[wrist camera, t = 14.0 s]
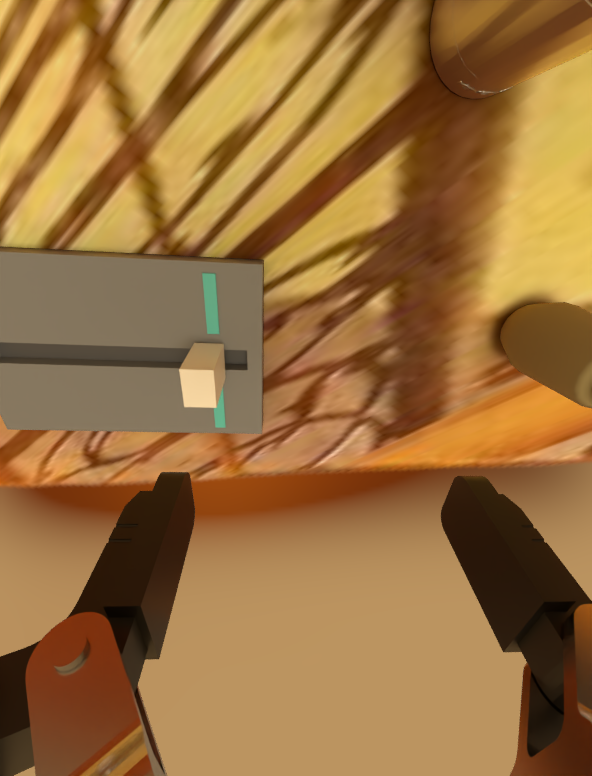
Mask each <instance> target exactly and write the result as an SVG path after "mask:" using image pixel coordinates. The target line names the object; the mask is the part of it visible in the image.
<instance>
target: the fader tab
mask: <svg viewBox="0 0 592 776" xmlns="http://www.w3.org/2000/svg"><path fill="white" fill-rule="evenodd" d="M179 372H180V379H181V387H182V394H183V401H184V407H203V408H217V405H218V401H219V398H220V395H221V391H222V388H223V385H224V381H225V378H226V376H225V359H224V344H215V343H194V344H193V346H192V348H191V349H190V351H189V353H188V355H187V356H186V358H185V360H184V362H183V363H182V365H181V367H180V369H179Z"/></svg>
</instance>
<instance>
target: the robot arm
mask: <svg viewBox="0 0 592 776" xmlns="http://www.w3.org/2000/svg"><path fill="white" fill-rule="evenodd" d="M430 46H431V55H432V59H433V62H434V65H435V69H436V71H437V73H438V75H439V77H440V78H441V80H442V82H443V83H444V84H445V85H446V86H447V87H448V88H449V89H450V90H451V91H452V92H454V93H456V94H457V95H459V96H461V97H465V98H469V99H480V98H486V97H489V96H492V95H495V94H497V93H500V92H502V91H505V90H507V89H510V88H512V87H514V85H517V84H519V83H521V82H523V81H526V80H528V79H530V78H532V77H534V76H537V75H539V74H541V73H543V72H545V71H547V70H550V69H552V68H554V67H556V66H558V65H560V64H562V63H565V62H567V61H569V60H571V59H573V58H575V57H578V56H580V55H582V54H584V53H586V52H588V51H591V50H592V0H435V2H434V6H433V11H432V17H431V22H430ZM194 518H195V506H194V499H193V493H192V486H191V479H190V474H189V473H188V472H162V473H161V474H160V475H159V477H158V479H157V481H156V484H155V486H154V489H153V491H140V492H139V493H138V494H137V495H136V496H135V497H134V498H133V499H132V500H131V501H130V502H129V503H128V504H127V505H126V506H125V507H124V509H123V511H122V513H121V515H120V517H119V519H118V522H117V524H116V528H114V530H113V532H112V534H111V536H110V538H109V542H108V543H107V544H106V546H105V548H104V550H103V552H102V554H101V556H100V558H99V560H98V562H97V564H96V566H95V568H94V570H93V572H92V574H91V576H90V578H89V580H88V582H87V584H86V586H85V588H84V590H83V592H82V594H81V596H80V598H79V600H78V602H77V604H76V606H75V607H74V609H73V611H72V612H71V613H70V615H69V616H68V617H67V618H66V619H65V620H63V621H62V622H60V623H59V624H57V625H56V626H55V627H54V628H52V629H51V630H50V631H49V632H48V633H47V634H46V635H45V636H44V637H43V638H42V640H40V641H39V642H37V643H35V644H33V645H31V646H28V647H26V648H24V649H21V650H18V651H15V652H12V653H9V654H6V655H4V656H1V657H0V776H14V775H16V774H18V773H20V772H22V771H24V770H26V769H29V768H31V767H33V766H35V774H36V776H167V773H166V770H165V767H164V764H163V761H162V758H161V755H160V752H159V749H158V746H157V743H156V740H155V737H154V734H153V730H152V727H151V724H150V721H149V718H148V715H147V712H146V709H145V706H144V703H143V700H142V697H141V694H140V691H139V688H138V681H139V678H140V675H141V671H142V668H143V664H144V661H145V659H159V657H160V653H161V649H162V646H163V642H164V638H165V634H166V630H167V626H168V623H169V619H170V615H171V611H172V607H173V603H174V600H175V596H176V592H177V588H178V584H179V580H180V576H181V573H182V569H183V565H184V561H185V557H186V553H187V550H188V545H189V542H190V538H191V534H192V530H193V526H194ZM441 521H442V526H443V529H444V531H445V533H446V535H447V537H448V539H449V542H450V544H451V546H452V548H453V550H454V552H455V554H456V556H457V558H458V560H459V562H460V564H461V566H462V568H463V570H464V572H465V574H466V577H467V579H468V581H469V583H470V585H471V587H472V589H473V591H474V593H475V595H476V597H477V599H478V601H479V603H480V605H481V607H482V609H483V611H484V614H485V616H486V618H487V619H488V621H489V624H490V626H491V628H492V630H493V632H494V634H495V636H496V638H497V640H498V642H499V644H500V646H501V648H502V650H503V652H522V654H523V655H524V657H525V659H526V661H527V663H526V664H525V666H524V670H523V682H522V695H521V710H520V722H519V736H518V750H517V757H516V761H515V765H514V767H513V770H512V772H511V774H510V776H592V601H591V600H590V599H589V597H588V596H587V595H586V594H585V592H584V591H583V590H582V588H581V587H580V586H579V584H578V583H577V582H576V580H575V579H574V578H573V577H572V575H571V574H570V573H569V571H568V570H567V569H566V567H565V566H564V565H563V563H562V562H561V561H560V559H559V558H558V557H557V556H556V554H555V553H554V552H553V550H552V549H551V548H550V546H549V545H548V544H547V543H545V542H544V538H543V537H542V536H541V535H540V533H539V532H538V531H537V529H534V527H533V524H532V523H531V522H530V520H529V519H528V518H527V516H526V515H525V514H524V512H523V511H522V510H521V509H520V508H519V507H518V506H517V505H516V504H514V503H513V502H512V501H511V500H510V499H508V498H507V497H506V496H505V495H503V494H498V493H497V491H496V490H495V488H494V487H493V486H492V484H491V483H490V482H489V480H488V479H487V478H485V477H483V476H457V477H456V478H455V479H454V480H453V483H452V485H451V488H450V490H449V492H448V495H447V498H446V500H445V503H444V505H443V507H442V510H441Z"/></svg>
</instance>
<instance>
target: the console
mask: <svg viewBox="0 0 592 776" xmlns="http://www.w3.org/2000/svg"><path fill="white" fill-rule="evenodd" d="M263 283H264V260H254V259H234V258H214V257H194V256H174V255H154V254H134V253H115V252H95V251H75V250H55V249H35V248H15V247H0V415H1V417H2V419H3V421H4V423H5V425H6V427H7V429H15V430H73V431H131V432H189V433H247V434H262V426H263ZM194 343H215V344H224V359H225V376H226V378H225V381H224V385H223V388H222V391H221V395H220V398H219V401H218V405H217V408H203V407H184V401H183V394H182V387H181V379H180V372H179V369H180V367H181V365H182V363H183V362H184V360H185V358H186V356H187V355H188V353H189V351H190V349H191V348H192V346H193V344H194Z"/></svg>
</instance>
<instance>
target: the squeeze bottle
mask: <svg viewBox="0 0 592 776" xmlns="http://www.w3.org/2000/svg"><path fill="white" fill-rule="evenodd" d="M500 339H501V343H502V346H503V348H504V350H505V352H506V355H507V357H508V359H509V361H510V363H511V365H513V366H514V367H515V368H516V369H517V370H518V371H519V372H521V373H523V374H525V375H527V376H528V377H530V378H532V379H534V380H536V381H537V382H539V383H541V384H543V385H545V386H547V387H548V388H550V389H552V390H554V391H556V392H557V393H559V394H561V395H563V396H565V397H566V398H568V399H570V400H572V401H574V402H575V403H577V404H579V405H581V406H584V407H588V408H592V314H591V313H590V312H588V311H586V310H584V309H582V308H581V307H579V306H576V305H572V304H569V303H565V302H563V303H537V304H530V305H526V306H524V307H522V308H520V309H518V310H516V311H515V312H514V313H513V314H512V315H510V316H509V317H508V318H507V320H506V321H505V323H504V325H503V327H502V329H501V334H500Z"/></svg>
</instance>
